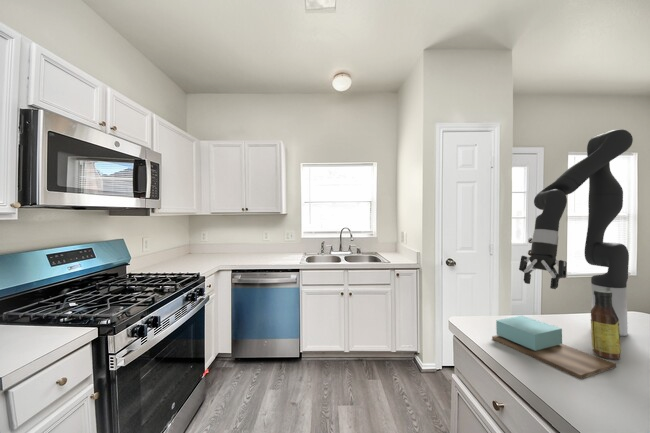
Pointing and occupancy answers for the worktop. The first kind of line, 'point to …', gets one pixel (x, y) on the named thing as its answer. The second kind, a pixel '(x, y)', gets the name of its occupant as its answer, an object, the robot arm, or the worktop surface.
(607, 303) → the sauce bottle
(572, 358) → the walnut board
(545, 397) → the worktop surface
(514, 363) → the worktop surface
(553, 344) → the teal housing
